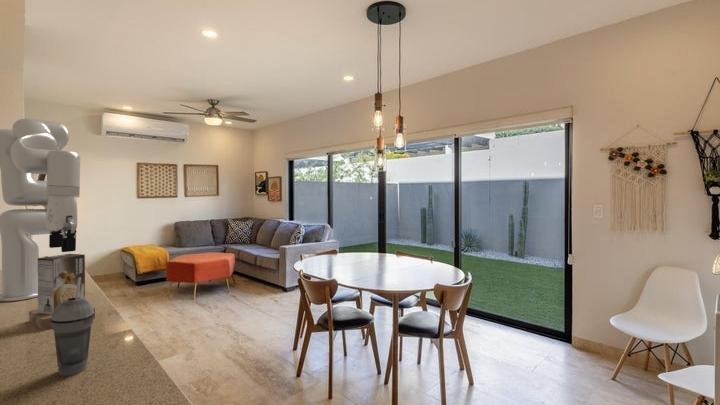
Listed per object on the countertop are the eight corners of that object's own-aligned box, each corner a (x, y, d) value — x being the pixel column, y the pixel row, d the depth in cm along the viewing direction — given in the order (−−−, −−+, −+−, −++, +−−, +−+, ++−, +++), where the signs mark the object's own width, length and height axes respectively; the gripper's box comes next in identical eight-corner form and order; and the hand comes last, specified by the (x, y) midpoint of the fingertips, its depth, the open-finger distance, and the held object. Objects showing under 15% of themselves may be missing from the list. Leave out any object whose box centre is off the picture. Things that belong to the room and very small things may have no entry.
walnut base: (29, 321, 102) (29, 311, 102) (78, 310, 112) (79, 301, 112) (43, 330, 96) (43, 319, 96) (94, 318, 106) (94, 308, 106)
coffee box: (70, 303, 109) (70, 253, 109) (85, 305, 108) (86, 254, 108) (36, 313, 100) (36, 257, 100) (53, 315, 99) (53, 259, 99)
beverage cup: (67, 362, 78) (68, 273, 78) (101, 362, 78) (102, 273, 78) (40, 379, 71) (41, 281, 70) (78, 378, 71) (79, 281, 71)
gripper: (36, 190, 105) (35, 247, 106) (58, 193, 96) (56, 255, 96) (67, 191, 111) (66, 244, 112) (90, 193, 102) (89, 251, 103)
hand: (62, 249), depth 104 cm, fingers open, 9 cm apart
